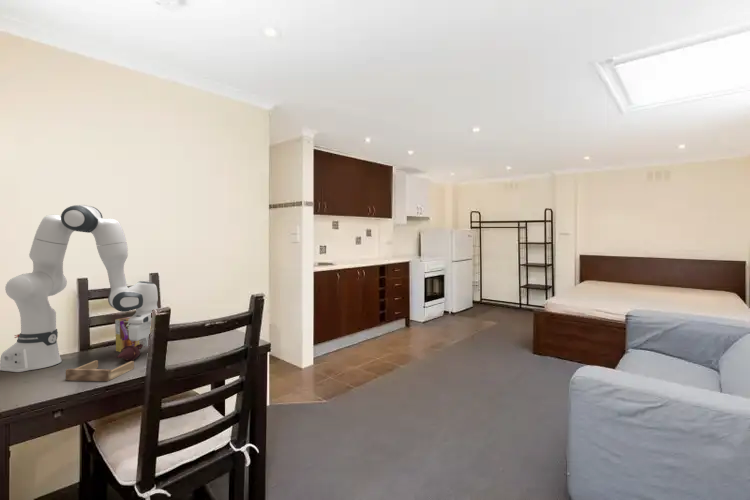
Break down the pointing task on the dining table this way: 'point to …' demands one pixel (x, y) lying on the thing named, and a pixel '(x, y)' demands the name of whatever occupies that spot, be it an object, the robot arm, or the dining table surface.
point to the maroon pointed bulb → (130, 352)
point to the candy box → (123, 334)
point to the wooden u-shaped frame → (97, 372)
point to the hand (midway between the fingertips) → (147, 345)
